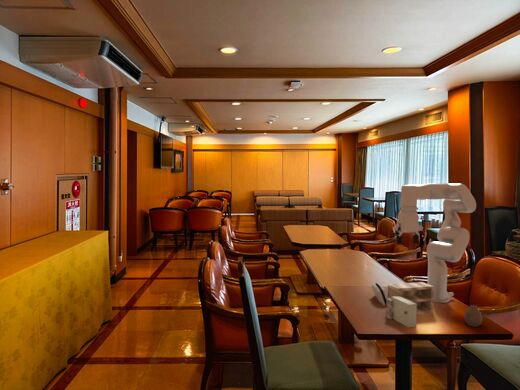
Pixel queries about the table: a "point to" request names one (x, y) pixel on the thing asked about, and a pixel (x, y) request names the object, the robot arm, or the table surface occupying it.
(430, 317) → the table surface
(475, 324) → the vase
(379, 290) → the white electronic device
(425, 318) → the table surface
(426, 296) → the cabinet
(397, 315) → the pale white box
